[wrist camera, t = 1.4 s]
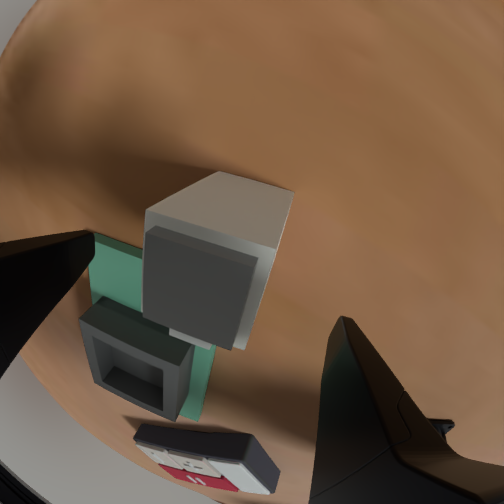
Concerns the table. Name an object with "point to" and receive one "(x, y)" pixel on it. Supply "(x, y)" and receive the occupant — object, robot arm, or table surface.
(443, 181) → the table surface
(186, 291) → the plug
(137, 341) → the board
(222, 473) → the dark panelled flat block
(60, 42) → the table surface
